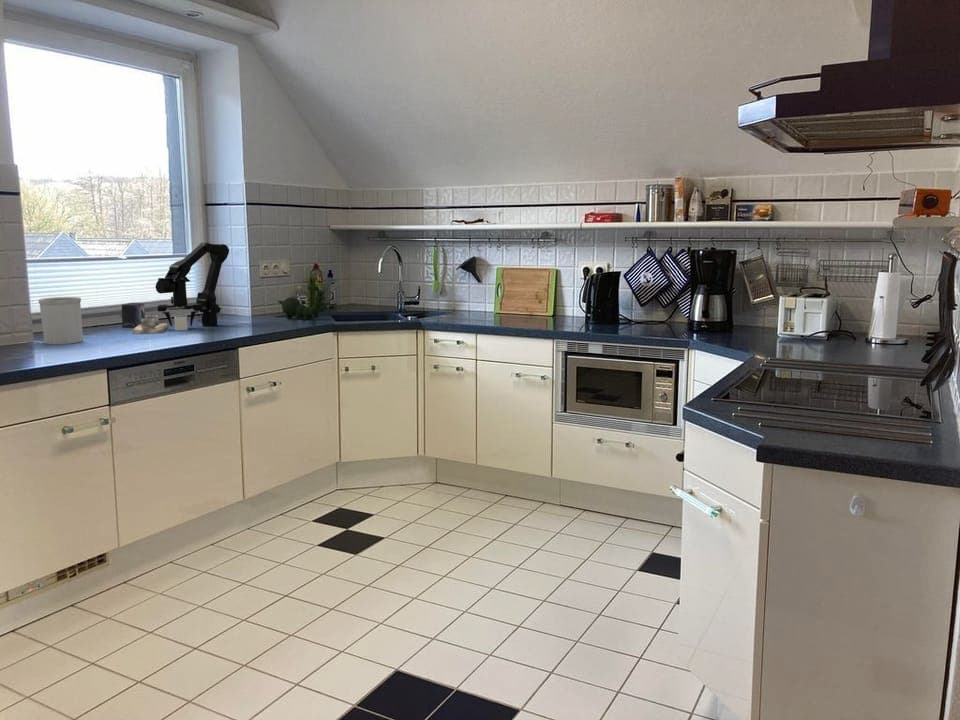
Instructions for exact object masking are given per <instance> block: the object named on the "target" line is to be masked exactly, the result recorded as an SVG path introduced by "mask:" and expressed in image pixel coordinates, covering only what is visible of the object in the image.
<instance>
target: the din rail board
mask: <svg viewBox="0 0 960 720" xmlns="http://www.w3.org/2000/svg"><path fill="white" fill-rule="evenodd" d="M159 318H160V317H159V315H158V314H155V315H152V314H151V315H146V316H145V319H142V320H141V324H139V325H138V326H137V327H133V328H134V329H132V334H133V335H134V334H139V335H140V334H163V333H164V332H165V330H167V328H168V323H160V321H159V320H160V319H159Z"/></svg>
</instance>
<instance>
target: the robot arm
mask: <svg viewBox="0 0 960 720" xmlns="http://www.w3.org/2000/svg"><path fill="white" fill-rule="evenodd" d="M207 253H208V254H209V258H210V264H209V268H208V272H207V276H206V280H205V285H204V287H203V290H202V292H198V293H197V297H196V299H195V303H193V304H192V305H188V304H189V303H188V298H187V283H188V282H191V280H190V279H189V278H188V277H187V275H188V274H189V273H190V271H191V269H192V267H193V265H195V264H196V263H197V262H198V261H199V260H201V258H203V256H205V255H206V254H207ZM229 254H230V248H229V247H228V245H227V244H224V243H210V242H200V243H199V245H197V246H196V247H195V248H194V249H193V250H192V251H191V252H190V253H189V254H187V255H186V256H185V257H183V259H181V260H178V261H176V262H173V263H171V264H170V266H169V267H168V271H167V273H166V275H165V276H164V277H158V278H157V281H156V284H155V290H156V292H157V293H158V294H160V295H161V294H172V296H170V304H171V305H169V304H168V303H161V304H158V306H157V312H161V313H162V314H164V315H165V317H166V318H167V320H168V323H169V325H170V327H173V320H172V314H171V310H177V311H178V310H180V311H181V310H190V320H189V321H190V322H189V323H190V324H189V325H190V327H193V321H194V318H195V316H196V314H197V313H202V315H201V325H202V327H218V325H219V323H218V314H220V312H221V309H222V308H221V307H220V306H219V305H218V304H217V296H216V293H215V292H216V289H217V286H218V285H217V284H218V281H219V276H220V272H221V269H222V265H223V264H224V262H225V261H226V260H227V258H228V256H229Z"/></svg>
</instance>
